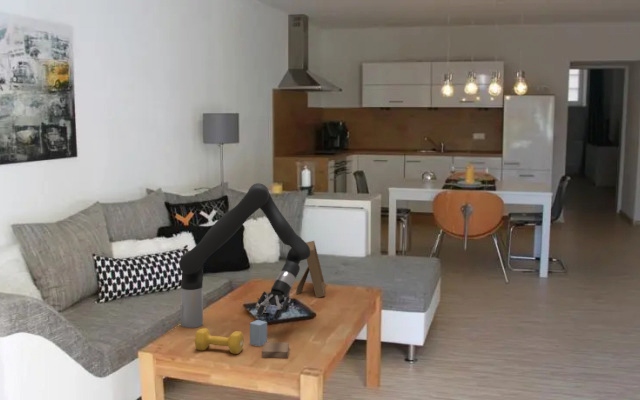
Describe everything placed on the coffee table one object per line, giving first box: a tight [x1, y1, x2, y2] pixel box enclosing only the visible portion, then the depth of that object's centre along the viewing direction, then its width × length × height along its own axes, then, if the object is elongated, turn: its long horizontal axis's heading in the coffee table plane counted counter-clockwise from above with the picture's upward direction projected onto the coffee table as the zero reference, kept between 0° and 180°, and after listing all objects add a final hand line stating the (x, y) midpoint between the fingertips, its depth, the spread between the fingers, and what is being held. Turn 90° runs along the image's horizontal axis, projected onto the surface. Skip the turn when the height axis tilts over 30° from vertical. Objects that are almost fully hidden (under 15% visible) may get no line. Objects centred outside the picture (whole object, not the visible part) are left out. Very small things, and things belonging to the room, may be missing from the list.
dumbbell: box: [194, 327, 245, 355], centre depth 267 cm, size 19×9×8 cm, turn 76°
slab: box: [261, 341, 290, 359], centre depth 265 cm, size 10×10×3 cm
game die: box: [253, 297, 266, 315], centre depth 311 cm, size 9×8×10 cm
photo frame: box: [295, 240, 326, 299], centre depth 348 cm, size 15×22×25 cm
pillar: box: [249, 319, 268, 347], centre depth 274 cm, size 5×5×9 cm
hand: (266, 316), depth 278 cm, fingers open, 8 cm apart
